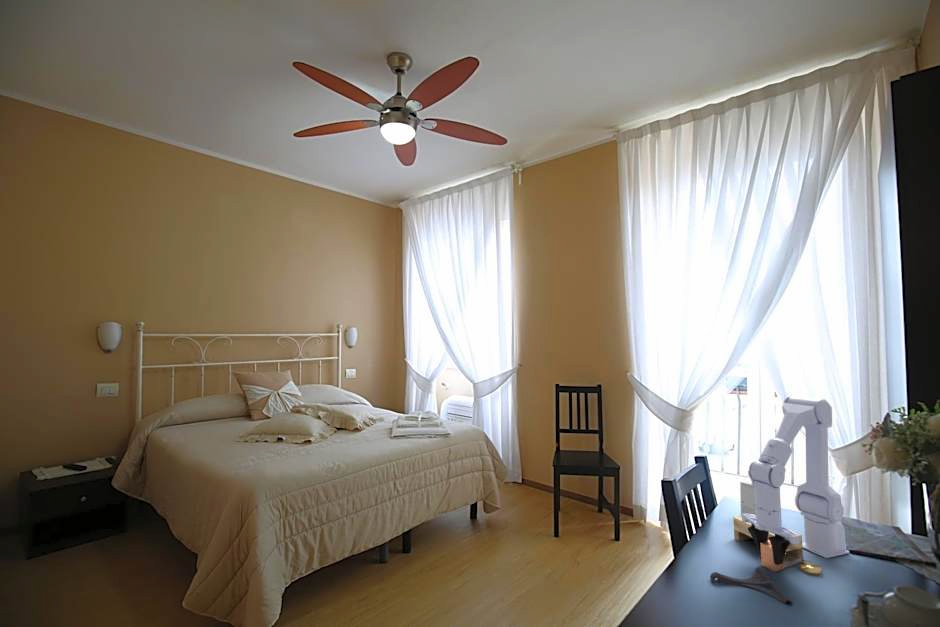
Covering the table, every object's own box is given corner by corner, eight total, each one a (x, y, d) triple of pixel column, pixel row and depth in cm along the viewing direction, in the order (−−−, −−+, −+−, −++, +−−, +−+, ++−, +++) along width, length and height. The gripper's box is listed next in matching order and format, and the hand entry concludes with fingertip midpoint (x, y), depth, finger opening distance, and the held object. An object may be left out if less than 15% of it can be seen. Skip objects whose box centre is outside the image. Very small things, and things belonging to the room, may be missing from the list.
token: (799, 565, 115) (799, 559, 115) (820, 570, 113) (820, 564, 113) (800, 572, 112) (800, 566, 112) (822, 578, 109) (821, 572, 109)
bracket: (701, 568, 115) (700, 558, 115) (762, 573, 112) (761, 562, 112) (722, 601, 101) (722, 589, 101) (793, 608, 98) (792, 595, 98)
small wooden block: (788, 556, 119) (787, 534, 119) (802, 562, 116) (801, 539, 116) (761, 565, 115) (760, 542, 115) (775, 571, 112) (773, 548, 112)
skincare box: (740, 517, 145) (738, 481, 146) (746, 514, 148) (744, 478, 148) (760, 523, 140) (759, 486, 141) (766, 520, 143) (764, 483, 143)
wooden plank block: (753, 535, 132) (752, 513, 132) (803, 559, 118) (801, 535, 118) (734, 538, 130) (733, 517, 130) (783, 563, 116) (781, 539, 116)
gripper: (732, 499, 120) (735, 549, 120) (783, 520, 107) (786, 576, 106) (751, 496, 122) (754, 545, 122) (804, 516, 109) (807, 571, 108)
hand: (770, 559), depth 114 cm, fingers closed on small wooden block, 4 cm apart
